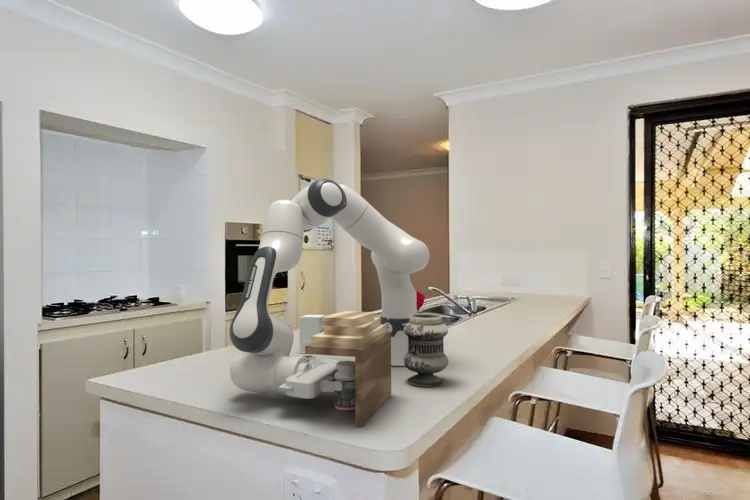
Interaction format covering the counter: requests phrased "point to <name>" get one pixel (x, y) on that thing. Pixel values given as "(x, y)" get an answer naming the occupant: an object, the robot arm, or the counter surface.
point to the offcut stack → (349, 329)
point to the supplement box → (309, 329)
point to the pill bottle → (345, 386)
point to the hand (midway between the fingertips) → (350, 380)
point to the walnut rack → (366, 373)
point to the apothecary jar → (425, 349)
